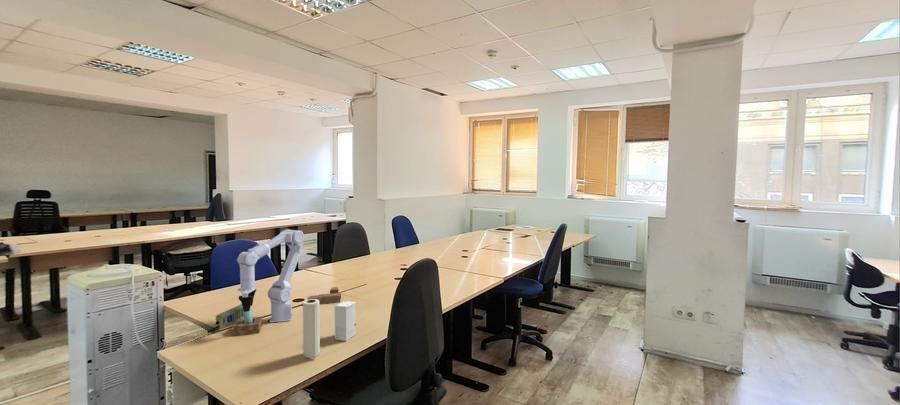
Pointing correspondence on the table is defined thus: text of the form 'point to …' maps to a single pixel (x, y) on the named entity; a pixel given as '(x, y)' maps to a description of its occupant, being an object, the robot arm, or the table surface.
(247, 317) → the peg
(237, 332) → the socket block
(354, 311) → the skincare box
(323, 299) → the wooden block set
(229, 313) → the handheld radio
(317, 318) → the paper towel roll
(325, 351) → the table surface
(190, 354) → the table surface
